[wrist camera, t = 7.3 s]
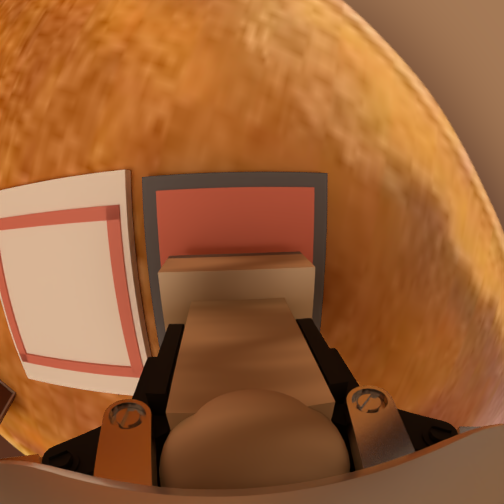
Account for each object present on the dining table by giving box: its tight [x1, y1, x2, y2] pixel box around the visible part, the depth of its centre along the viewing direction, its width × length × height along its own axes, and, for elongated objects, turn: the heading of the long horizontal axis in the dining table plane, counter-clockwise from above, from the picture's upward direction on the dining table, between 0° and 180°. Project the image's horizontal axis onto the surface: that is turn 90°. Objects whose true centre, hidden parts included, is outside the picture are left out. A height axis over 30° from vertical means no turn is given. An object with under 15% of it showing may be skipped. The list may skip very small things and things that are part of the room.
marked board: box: [0, 170, 152, 395], centre depth 16 cm, size 12×15×1 cm
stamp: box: [158, 251, 350, 489], centre depth 9 cm, size 6×6×11 cm
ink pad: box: [142, 172, 327, 347], centre depth 17 cm, size 10×14×1 cm
